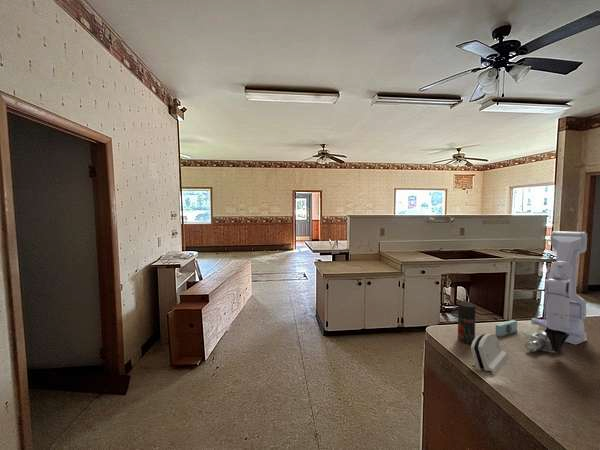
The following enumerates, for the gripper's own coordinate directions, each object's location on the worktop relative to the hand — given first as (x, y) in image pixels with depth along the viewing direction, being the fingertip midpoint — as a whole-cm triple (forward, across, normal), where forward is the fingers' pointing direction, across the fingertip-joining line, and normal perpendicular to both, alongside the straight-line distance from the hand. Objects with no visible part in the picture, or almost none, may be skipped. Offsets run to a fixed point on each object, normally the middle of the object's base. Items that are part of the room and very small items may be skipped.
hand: (556, 351), depth 96 cm
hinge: (+3, -9, -23) cm, 25 cm away
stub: (+3, -6, +6) cm, 9 cm away
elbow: (+2, -6, +3) cm, 7 cm away
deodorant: (+3, -22, -16) cm, 27 cm away
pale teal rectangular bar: (+3, -20, +6) cm, 21 cm away
